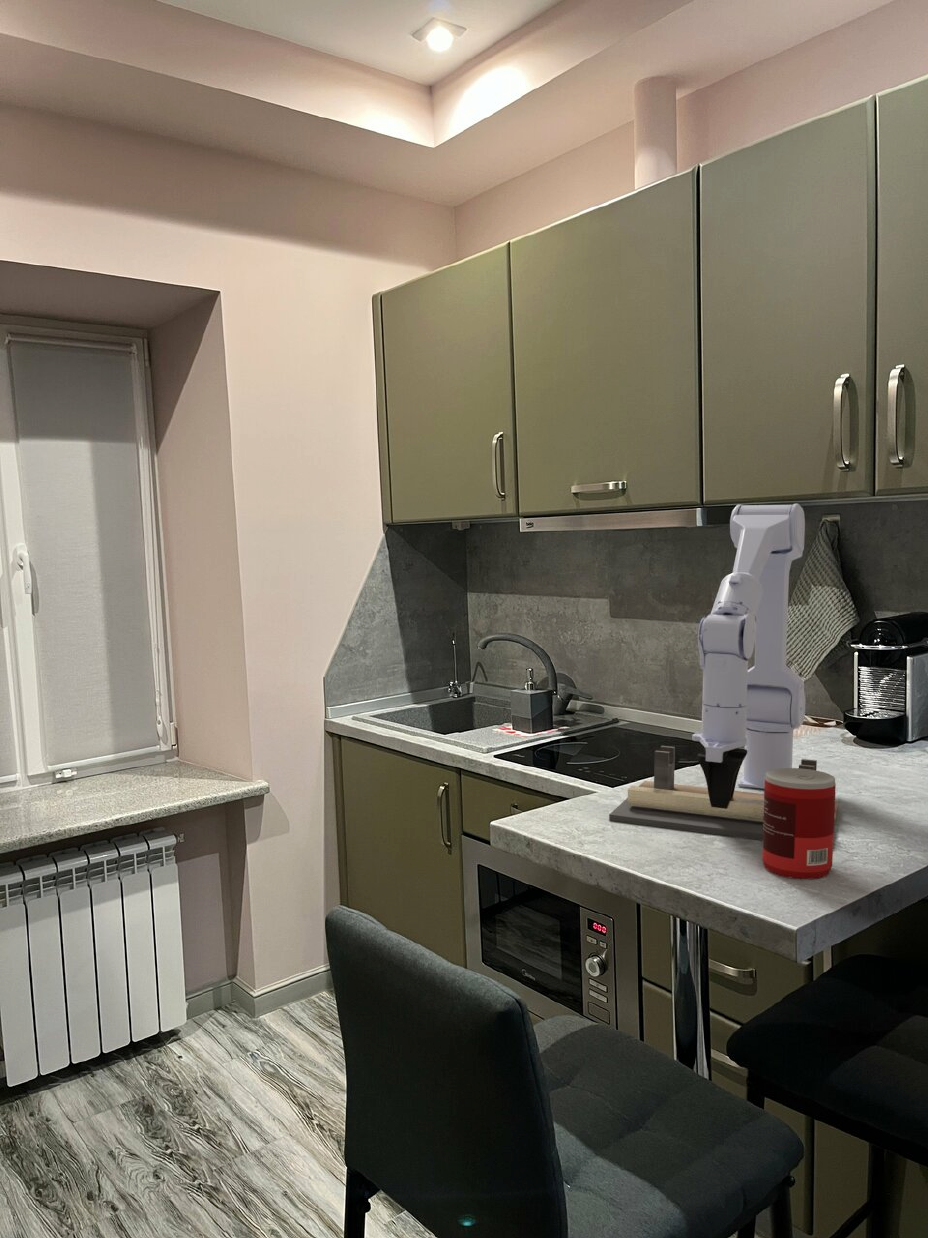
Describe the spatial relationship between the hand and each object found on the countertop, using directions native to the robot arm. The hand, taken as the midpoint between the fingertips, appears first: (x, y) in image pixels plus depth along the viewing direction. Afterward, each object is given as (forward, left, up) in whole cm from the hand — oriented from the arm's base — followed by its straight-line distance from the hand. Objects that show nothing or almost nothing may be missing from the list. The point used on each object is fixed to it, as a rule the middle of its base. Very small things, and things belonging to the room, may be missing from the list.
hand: (721, 804), depth 128 cm
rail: (0, 0, -1) cm, 1 cm away
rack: (-11, 0, -3) cm, 11 cm away
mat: (0, 0, -3) cm, 3 cm away
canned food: (+14, +11, -3) cm, 18 cm away
